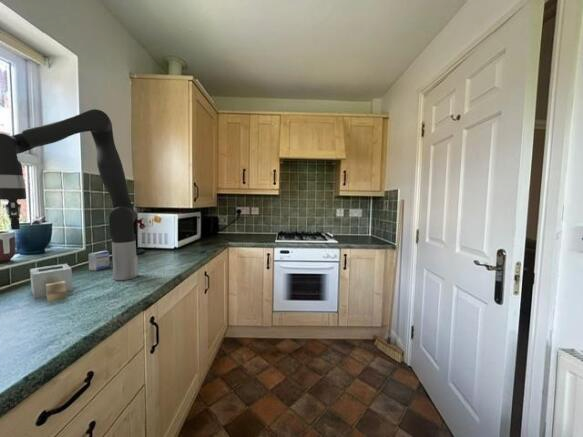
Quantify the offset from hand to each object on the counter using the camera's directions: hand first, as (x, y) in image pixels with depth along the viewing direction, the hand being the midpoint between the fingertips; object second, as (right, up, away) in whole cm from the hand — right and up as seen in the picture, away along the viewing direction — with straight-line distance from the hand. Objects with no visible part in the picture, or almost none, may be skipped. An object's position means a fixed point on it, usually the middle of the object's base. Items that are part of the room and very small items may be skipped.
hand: (15, 228), depth 101 cm
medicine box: (+8, -23, +33) cm, 41 cm away
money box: (+13, -25, +1) cm, 28 cm away
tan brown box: (+22, -26, -7) cm, 35 cm away
